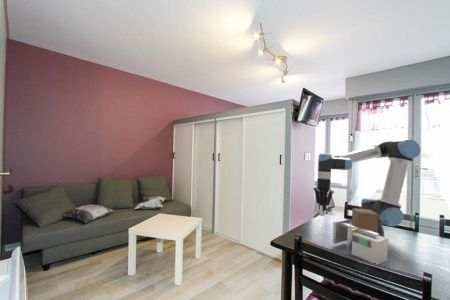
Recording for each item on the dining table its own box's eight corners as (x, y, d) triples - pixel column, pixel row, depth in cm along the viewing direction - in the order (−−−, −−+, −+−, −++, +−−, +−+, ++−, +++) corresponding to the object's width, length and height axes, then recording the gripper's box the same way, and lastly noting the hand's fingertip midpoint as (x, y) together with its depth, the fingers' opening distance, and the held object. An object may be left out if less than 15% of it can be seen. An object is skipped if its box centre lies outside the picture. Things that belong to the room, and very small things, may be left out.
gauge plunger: (344, 239, 125) (345, 219, 125) (382, 253, 108) (383, 230, 108) (332, 243, 118) (332, 221, 119) (369, 259, 102) (370, 234, 102)
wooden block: (377, 250, 116) (378, 214, 116) (357, 247, 118) (359, 212, 118) (369, 242, 126) (370, 209, 126) (350, 240, 128) (352, 208, 128)
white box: (361, 250, 116) (362, 230, 116) (387, 260, 105) (387, 238, 105) (351, 253, 110) (351, 233, 110) (376, 265, 100) (377, 242, 100)
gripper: (311, 176, 135) (309, 213, 135) (330, 179, 124) (328, 219, 124) (318, 176, 139) (316, 212, 139) (337, 179, 128) (335, 218, 128)
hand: (322, 215), depth 131 cm, fingers closed
